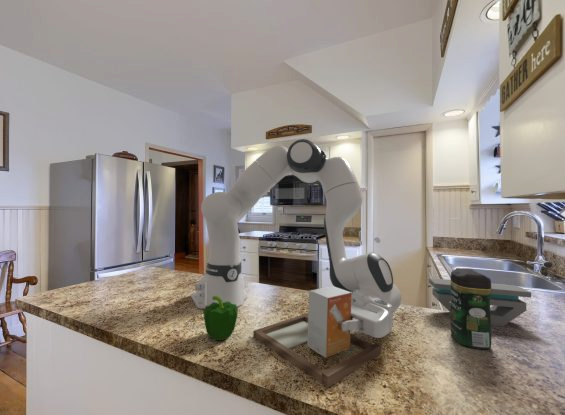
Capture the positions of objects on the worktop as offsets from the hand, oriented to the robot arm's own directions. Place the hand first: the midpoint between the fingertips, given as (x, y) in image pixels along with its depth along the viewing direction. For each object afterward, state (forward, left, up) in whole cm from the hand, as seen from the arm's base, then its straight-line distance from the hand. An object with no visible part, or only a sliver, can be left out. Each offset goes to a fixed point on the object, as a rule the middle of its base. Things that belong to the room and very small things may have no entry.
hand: (326, 320), depth 60 cm
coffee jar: (+19, +35, -8) cm, 41 cm away
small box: (0, +1, -7) cm, 7 cm away
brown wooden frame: (-5, +1, -8) cm, 9 cm away
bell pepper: (-23, -15, -8) cm, 28 cm away
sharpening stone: (+15, +55, -8) cm, 58 cm away
